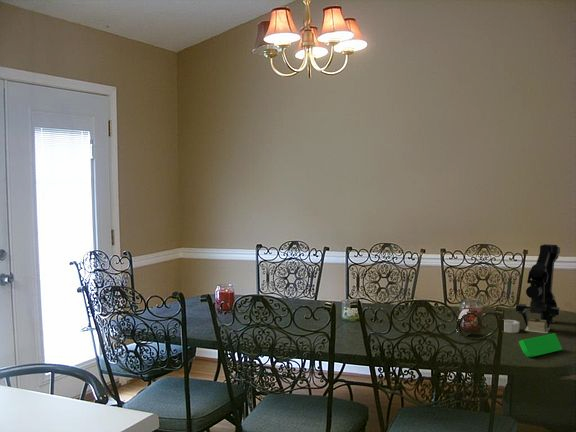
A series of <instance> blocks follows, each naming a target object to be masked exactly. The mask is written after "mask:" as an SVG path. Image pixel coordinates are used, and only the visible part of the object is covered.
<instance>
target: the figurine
mask: <svg viewBox="0 0 576 432" xmlns="http://www.w3.org/2000/svg"><path fill="white" fill-rule="evenodd" d="M468 311H469V308H465V309H463V310H462V311H461V312H460V313H459V315H458V318H457V320H458V319H461V318H462V316H463V315H464V314H465V313H467V312H468ZM457 332H458V331H457V330H456V333H457Z"/></svg>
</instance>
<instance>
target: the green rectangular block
mask: <svg viewBox="0 0 576 432" xmlns="http://www.w3.org/2000/svg"><path fill="white" fill-rule="evenodd" d="M518 344H519V346H520V348H521V350H522V352H523V354H524V355H525V356H526V357H527V358H533V357H537V356H538V357H539V356H543V355H546V354H552V353H555V352H560V351H562V350H563V347H562V345H561V343H560V341H559V339H558V336H557V334H556V333H555V332H553V333H547V334H545V335H539V336H534V337H529V338H525V339H524V338H523V339H521V340H519V341H518Z"/></svg>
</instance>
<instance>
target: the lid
mask: <svg viewBox="0 0 576 432" xmlns="http://www.w3.org/2000/svg"><path fill="white" fill-rule="evenodd" d="M546 328H547V323H546V320H540V318H530V319H529V320H528V330H531V331H530V332H532V331H540V332H545V330H546ZM540 332H539V333H540Z"/></svg>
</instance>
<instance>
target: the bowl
mask: <svg viewBox="0 0 576 432" xmlns="http://www.w3.org/2000/svg"><path fill="white" fill-rule="evenodd" d="M503 320H504V333H508V334H509V333H511V334H514V333H515V334H516V333H519V332H520V321H518V320H514V319H503Z"/></svg>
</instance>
